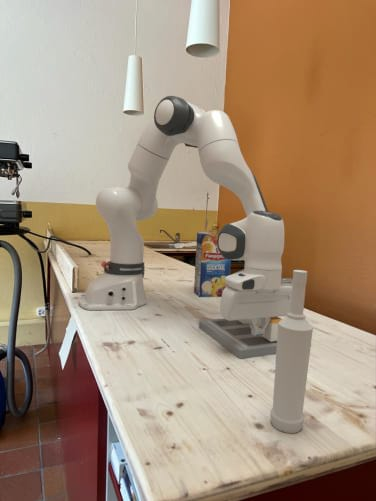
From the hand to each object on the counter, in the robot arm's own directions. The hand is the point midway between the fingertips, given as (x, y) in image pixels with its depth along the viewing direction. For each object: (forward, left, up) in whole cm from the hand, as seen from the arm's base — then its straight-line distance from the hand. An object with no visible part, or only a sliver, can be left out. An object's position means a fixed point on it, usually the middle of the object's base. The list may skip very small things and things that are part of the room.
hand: (257, 334), depth 88 cm
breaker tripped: (+4, 0, -1) cm, 4 cm away
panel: (+2, +7, -4) cm, 8 cm away
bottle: (-13, -28, -4) cm, 31 cm away
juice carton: (+14, +52, -4) cm, 54 cm away
